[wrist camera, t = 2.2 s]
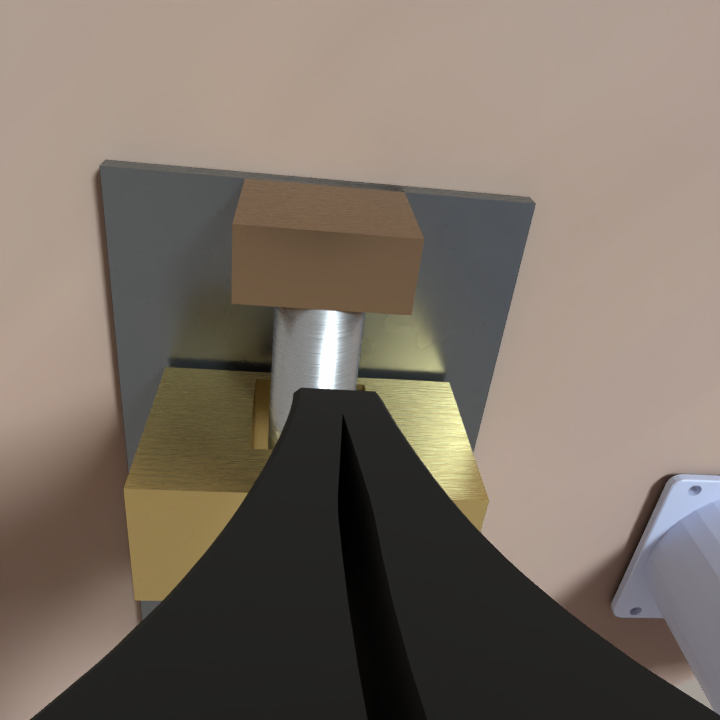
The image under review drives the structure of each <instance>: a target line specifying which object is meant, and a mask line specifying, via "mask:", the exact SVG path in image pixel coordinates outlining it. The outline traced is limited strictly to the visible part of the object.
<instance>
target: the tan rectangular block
mask: <svg viewBox="0 0 720 720" xmlns="http://www.w3.org/2000/svg"><path fill="white" fill-rule="evenodd" d="M356 390H359V391H375V392H376V393H377V394H378V395H379V396H380V397H381V399H382V401H383V402H384V404H385V406H386V408H387V409H388V411H389V413H390V414H391V416H392V418H393V419H394V421H395V422H396V424H397V426H398V427H399V429H400V430H401V432H402V433H403V435H404V436H405V438H406V439H407V441H408V442H409V444H410V445H411V447H412V448H413V450H414V451H415V452H416V454H417V455H418V457H419V458H420V459H421V461H422V462H423V463H424V465H425V466H426V467H427V469H428V470H429V471H430V473H431V474H432V476H433V477H434V478H435V480H436V481H437V482H438V483H439V485H440V486H441V487H442V488H443V490H444V491H445V492H446V494H447V495H448V496H449V497H450V498H451V499H452V501H453V502H454V503H455V504H456V505H457V507H458V508H459V509H460V510H461V511H462V513H463V514H464V515H465V516H466V517H467V518H468V519H469V520H470V522H471V523H472V524H473V525H474V526H475V527H476V528H477V529H478V530H479V531H481V528H482V524H483V521H484V517H485V513H486V510H487V506H488V503H489V499H488V496H487V493H486V490H485V487H484V484H483V481H482V479H481V476H480V473H479V470H478V467H477V464H476V461H475V458H474V455H473V452H472V449H471V446H470V443H469V440H468V437H467V434H466V431H465V428H464V425H463V422H462V419H461V416H460V413H459V410H458V407H457V404H456V401H455V398H454V395H453V392H452V389H451V386H450V383H449V382H434V381H415V380H396V379H378V378H359V377H357V385H356ZM270 392H271V373H266V372H248V371H229V370H211V369H192V368H173V367H165V370H164V373H163V376H162V379H161V382H160V384H159V387H158V390H157V393H156V396H155V399H154V402H153V405H152V408H151V411H150V413H149V416H148V419H147V422H146V425H145V428H144V431H143V434H142V437H141V439H140V442H139V445H138V448H137V451H136V454H135V457H134V460H133V463H132V466H131V468H130V471H129V474H128V477H127V480H126V483H125V486H124V499H125V509H126V519H127V529H128V539H129V549H130V559H131V569H132V579H133V589H134V599H135V601H163V600H164V599H165V598H166V596H167V595H168V594H169V593H170V592H171V591H172V590H173V589H174V588H175V587H176V586H177V585H178V583H179V582H180V581H181V580H182V579H183V578H184V577H185V575H186V574H187V573H188V572H189V571H190V570H191V568H192V567H193V566H194V565H195V564H196V563H197V561H198V560H199V559H200V558H201V557H202V556H203V554H204V553H205V552H206V551H207V550H208V548H209V547H210V546H211V545H212V543H213V542H214V541H215V539H216V538H217V537H218V535H219V534H220V533H221V532H222V530H223V529H224V528H225V526H226V525H227V523H228V522H229V521H230V519H231V518H232V517H233V515H234V514H235V512H236V511H237V509H238V508H239V506H240V505H241V503H242V502H243V500H244V499H245V497H246V495H247V494H248V492H249V491H250V489H251V487H252V486H253V484H254V483H255V481H256V479H257V478H258V476H259V475H260V473H261V471H262V470H263V468H264V466H265V464H266V462H267V460H268V458H269V456H270V454H271V453H272V451H273V450H272V449H268V436H269V414H270Z"/></svg>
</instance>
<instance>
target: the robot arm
mask: <svg viewBox="0 0 720 720" xmlns="http://www.w3.org/2000/svg"><path fill="white" fill-rule="evenodd" d="M693 486H694V487H693ZM691 487H692V488H691ZM611 609H612V611H613V613H614V615H615V616H617V617H621V618H664V619H665V621H666V623H667V625H668V627H669V629H670V630H671V632H672V634H673V636H674V638H675V640H676V642H677V643H678V645H679V647H680V649H681V651H682V653H683V654H684V656H685V658H686V660H687V662H688V664H689V666H690V667H691V669H692V671H693V673H694V675H695V677H696V678H697V680H698V682H699V684H700V686H701V688H702V689H703V691H704V693H705V695H706V697H707V699H708V701H709V702H710V704H711V706H712V708H713V710H714V711H712V710H711V709H709V708H708V707H706V706H704V705H703V704H701V703H700V702H698V701H696V700H695V699H693V698H692V697H690V696H689V695H687V694H686V693H684V692H682V691H681V690H679V689H678V688H676V687H675V686H673V685H671V684H670V683H668V682H667V681H665V680H664V679H662V678H660V677H659V676H657V675H656V674H654V673H652V672H651V671H649V670H648V669H646V668H645V667H643V666H642V665H640V664H639V663H637V662H636V661H634V660H633V659H631V658H630V657H629V656H627V655H626V654H624V653H623V652H622V651H620V650H619V649H617V648H616V647H615V646H613V645H612V644H611V643H609V642H608V641H606V640H605V639H604V638H602V637H601V636H599V635H598V634H597V633H595V632H594V631H593V630H591V629H590V628H588V627H587V626H586V625H585V624H583V623H582V622H581V621H579V620H578V619H577V618H576V617H574V616H573V615H572V614H570V613H569V612H568V611H567V610H565V609H564V608H563V607H562V606H560V605H559V604H558V603H557V602H556V601H554V600H553V599H552V598H551V597H550V596H549V595H547V594H546V593H545V592H544V591H543V590H541V589H540V588H539V587H538V586H537V585H535V584H534V583H533V582H532V581H531V580H530V579H528V578H527V577H526V576H525V575H524V574H523V573H522V572H520V571H519V570H518V569H517V568H516V567H515V566H514V565H513V564H512V563H511V562H510V561H508V560H507V559H506V558H505V557H504V556H503V555H502V554H501V553H500V552H499V551H498V550H497V549H496V548H495V547H494V546H493V545H492V544H491V543H490V542H489V541H488V540H487V539H486V538H485V537H484V536H483V535H482V534H481V533H480V531H479V530H478V529H477V528H476V527H475V526H474V525H473V524H472V523H471V522H470V520H469V519H468V518H467V517H466V516H465V515H464V514H463V513H462V511H461V510H460V509H459V508H458V507H457V505H456V504H455V503H454V502H453V501H452V499H451V498H450V497H449V496H448V495H447V494H446V492H445V491H444V490H443V488H442V487H441V486H440V485H439V483H438V482H437V481H436V480H435V478H434V477H433V476H432V474H431V473H430V471H429V470H428V469H427V467H426V466H425V465H424V463H423V462H422V461H421V459H420V458H419V457H418V455H417V454H416V452H415V451H414V450H413V448H412V447H411V445H410V444H409V442H408V441H407V439H406V438H405V436H404V435H403V433H402V432H401V430H400V429H399V427H398V426H397V424H396V422H395V421H394V419H393V418H392V416H391V414H390V413H389V411H388V409H387V408H386V406H385V404H384V402H383V401H382V399H381V397H380V396H379V395H378V394H377V393H376V392H375V391H359V390H339V389H320V388H300V389H298V390H297V391H295V392H294V393H293V401H292V405H291V408H290V412H289V415H288V418H287V420H286V423H285V425H284V427H283V430H282V432H281V435H280V437H279V439H278V441H277V443H276V445H275V447H274V449H273V451H272V453H271V454H270V456H269V458H268V460H267V462H266V464H265V466H264V468H263V470H262V471H261V473H260V475H259V476H258V478H257V479H256V481H255V483H254V484H253V486H252V487H251V489H250V491H249V492H248V494H247V495H246V497H245V499H244V500H243V502H242V503H241V505H240V506H239V508H238V509H237V511H236V512H235V514H234V515H233V517H232V518H231V519H230V521H229V522H228V523H227V525H226V526H225V528H224V529H223V530H222V532H221V533H220V534H219V535H218V537H217V538H216V539H215V541H214V542H213V543H212V545H211V546H210V547H209V548H208V550H207V551H206V552H205V553H204V554H203V556H202V557H201V558H200V559H199V560H198V561H197V563H196V564H195V565H194V566H193V567H192V568H191V570H190V571H189V572H188V573H187V574H186V575H185V577H184V578H183V579H182V580H181V581H180V582H179V583H178V585H177V586H176V587H175V588H174V589H173V590H172V591H171V592H170V593H169V594H168V595H167V596H166V598H165V599H164V600H163V601H162V602H161V603H160V604H159V605H158V606H157V607H156V608H155V609H154V610H153V611H152V612H151V613H150V614H149V615H148V616H147V617H145V618H144V619H143V620H142V621H141V622H140V623H139V624H138V625H137V626H136V627H135V628H134V629H133V630H132V631H131V632H130V633H129V634H128V635H127V636H126V637H125V638H124V639H123V640H122V641H121V642H120V643H119V644H118V645H117V646H116V647H115V648H114V649H113V650H112V651H110V652H109V653H108V654H107V655H106V656H105V657H104V658H103V659H102V660H100V661H99V662H98V663H97V664H96V665H95V666H94V667H92V668H91V669H90V670H89V671H88V672H86V673H85V674H84V675H83V676H82V677H80V678H79V679H78V680H77V681H76V682H74V683H73V684H72V685H71V686H70V687H69V688H67V689H66V690H65V691H64V692H63V693H61V694H60V695H59V696H58V697H57V698H55V699H54V700H53V701H52V702H51V703H49V704H48V705H47V706H46V707H45V708H44V709H42V710H41V711H40V712H39V713H38V714H36V715H35V716H34V717H33V718H31V719H30V720H720V476H717V475H691V474H680V475H675V476H673V477H672V478H670V479H669V480H668V482H667V483H666V485H665V487H664V489H663V491H662V494H661V496H660V498H659V500H658V502H657V504H656V507H655V509H654V511H653V513H652V515H651V518H650V520H649V522H648V524H647V526H646V529H645V531H644V533H643V535H642V537H641V540H640V542H639V544H638V546H637V548H636V551H635V553H634V555H633V557H632V559H631V561H630V564H629V566H628V568H627V570H626V572H625V575H624V577H623V579H622V581H621V583H620V586H619V588H618V590H617V592H616V594H615V597H614V599H613V601H612V603H611Z"/></svg>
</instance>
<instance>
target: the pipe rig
mask: <svg viewBox="0 0 720 720" xmlns="http://www.w3.org/2000/svg"><path fill="white" fill-rule="evenodd" d="M100 175H101V186H102V197H103V207H104V218H105V228H106V239H107V250H108V260H109V271H110V282H111V292H112V303H113V314H114V324H115V335H116V346H117V356H118V367H119V377H120V388H121V399H122V409H123V420H124V431H125V441H126V452H127V463H128V473H129V471H130V468H131V466H132V463H133V460H134V457H135V454H136V451H137V448H138V445H139V442H140V439H141V437H142V434H143V431H144V428H145V425H146V422H147V419H148V416H149V413H150V411H151V408H152V405H153V402H154V399H155V396H156V393H157V390H158V387H159V384H160V382H161V379H162V376H163V373H164V370H165V367H173V368H192V369H211V370H229V371H248V372H266V373H271V392H270V414H269V436H268V449H272V450H273V449H274V447H275V445H276V443H277V441H278V439H279V437H280V435H281V432H282V430H283V427H284V425H285V423H286V420H287V418H288V415H289V412H290V408H291V405H292V401H293V393H294V392H295V391H297V390H298V389H300V388H320V389H339V390H356V385H357V377H359V378H378V379H396V380H415V381H434V382H449V383H450V386H451V389H452V392H453V395H454V398H455V401H456V404H457V407H458V410H459V413H460V416H461V419H462V422H463V425H464V428H465V431H466V434H467V437H468V440H469V443H470V446H471V449H472V452H474V448H475V444H476V440H477V436H478V432H479V428H480V424H481V420H482V416H483V412H484V408H485V404H486V400H487V396H488V392H489V388H490V384H491V380H492V376H493V372H494V368H495V364H496V360H497V356H498V352H499V348H500V344H501V340H502V336H503V332H504V328H505V324H506V320H507V316H508V312H509V308H510V304H511V300H512V296H513V292H514V288H515V284H516V280H517V276H518V272H519V268H520V264H521V260H522V256H523V252H524V248H525V244H526V240H527V236H528V232H529V228H530V224H531V220H532V216H533V212H534V208H535V202H534V201H533V200H532V199H531V198H530V197H521V196H510V195H499V194H487V193H476V192H465V191H453V190H442V189H431V188H419V187H408V186H397V185H385V184H374V183H363V182H351V181H340V180H329V179H317V178H306V177H295V176H283V175H272V174H261V173H249V172H238V171H227V170H215V169H204V168H193V167H181V166H170V165H159V164H147V163H136V162H125V161H113V160H105V161H104V162H103V163H102V164H101V165H100ZM161 602H162V601H141V612H142V620H143V619H144V618H145V617H147V616H148V615H149V614H150V613H151V612H152V611H153V610H154V609H155V608H156V607H157V606H158V605H159V604H160V603H161Z"/></svg>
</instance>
